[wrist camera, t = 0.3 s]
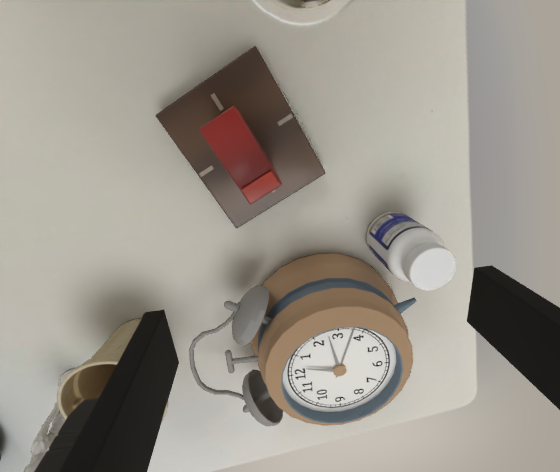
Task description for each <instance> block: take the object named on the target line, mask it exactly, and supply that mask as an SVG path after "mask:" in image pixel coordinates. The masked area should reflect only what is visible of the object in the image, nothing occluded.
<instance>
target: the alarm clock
mask: <svg viewBox="0 0 560 472" xmlns="http://www.w3.org/2000/svg"><path fill="white" fill-rule="evenodd" d="M415 302H416V299H415V298H412V299H409V300H406V301H404V302H401V303H398V302H397V300H396V297H395V295H394V293H393V291H392V289H391V288H390V287H389V285H388V284H387V283H386V282H385V280H384V279H383V278H382V277H381V276H380V275H379V274H378V273H377V272H376V271H375V269H374V268H373V267H371V266H369V265H368V264H366V263H364V262H362V261H361V260H359V259H357V258H353V257H350V256H346V255H342V254H315V255H311V256H306V257H302V258H299V259H297V260H295V261H293V262H291V263H289V264H287V265H285V266H283V267H281V268H280V269H279V270H277V271H276V272H275V273H274V274H273V275H272V276H270V277H269V278H268V279H267V280H266V281H265V283H264V284H263V285H262V286H254V287H253V288H251V289H250V290H249V291H248V292H247V293H246V294H245V295H244V296H243V298H242V299H241V301H240V302H238V304H236V303H233V302H231V301H226V302H225V303H224V306H225V308H227V309H229V310H231V311H234V312H233V314H232V315H231V317H230V318H228V319H227V320H226V321H225V322H224V323H223V324H221V325H220V326H218V327H217V328H215V329H212V330H209V331H205V332H202V333H201V334H200V335H198V336H197V337H196V338H195V339H194V340H193V342H192V344H191V346H190V349H189V352H190V366H191V370H192V373H193V375H194V378H195V380H196V382H197V384H198V385H199V386H200V387H201V388H202V389H204V390H205V391H207V392H210V393H213V394H227V395H231V396H235V397H238V398H241V399H243V400H245V403H246V405H245V406H244V407H243V411H244V412H245V413H247V412H249V411H250V413H251V415H252V416H253V417H254V418H255V419H256V420H257V421H258V422H260V423H261V424H263V425H265V426H273V425H277V424H278V423H280V421H281V419H282V416H283V411H284V412H286V413H287V414H288V415H290V416H291V417H294V418H296V419H299V420H301V421H304V422H306V423H312V424H318V425H341V424H346V423H350V422H354V421H358V420H361V419H363V418H365V417H367V416H370V415H372V414H374V413H376V412H377V411H379V410H380V409H382V408H383V407H385V406H386V405H387V404H389V403H390V402H391V401H392V400H393V399H394V398H395V397H396V396H397V394H398V393H399V392H400V391H401V390H402V388H403V387H404V385H405V383H406V381H407V379H408V378H409V376H410V373H411V368H412V363H413V353H412V345H411V342H410V340H409V338H408V329H407V327H406V325H405V322H404V320H403V318H402V316H401V313H402V312H403V311H405V310H406V309H407V308H408V307H410V306H411V305H412V304H414V303H415ZM232 319H233V323H232V334H233V338H234V340H235V341H236V342H237V343H238V344H239V345H242V346H246V345H248V344H249V343H250V342H251V345H252V348H253V352H254V355H255V356H250V357H243V358H235V359H232V353H231V351H230V350H227V351H226V352H225V355H226V360H227V365H228V370H229V373H233V372H234V364H236V363H244V362H251V361H258V366H259V369H260V371H259V370H252V371H251V372H249V373H248V374H247V375H246V376H245V378H244V381H243V385H242V389H243V395H241V394H239V393H236V392H232V391H229V390H215V389H212V388H209V387H207V386H206V385H205V384H204V383H203V382H201V380H200V378H199V375H198V373H197V370H196V368H195V363H194V350H193V349H194V347H195V345H196V342H198V341H199V340H200V339H201V338H202V337H204V336H205V335H208V334H212V333H215V332H218V331H219V330H221V329H222V328H224V327H225V326H227V325H228V324H229V322H230V321H231V320H232Z"/></svg>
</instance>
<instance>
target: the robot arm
mask: <svg viewBox="0 0 560 472" xmlns="http://www.w3.org/2000/svg"><path fill="white" fill-rule="evenodd" d="M467 322H468V323H469V324H470V325H471V326H472V327H473V328H474V329H475V330H476V331H478V332H479V333H480V334H481V335H482V336H483V337H484V338H485V339H486V340H487V341H488V342H489V343H490V344H491V345H492V346H493V347H494V348H495V349H497V351H498V352H500V353H501V354H502V355H503V356H504V357H505V358H506V359H507V360H508V361H509V362H510V363H511V364H512V365H513V366H514V367H515V368H516V369H518V371H520V372H521V373H522V374H523V375H524V376H525V377H526V378H527V379H528V380H529V381H530V382H531V383H532V384H533V385H534V386H535V387H536V388H537V389H538V390H539V391H540V392H542V393H543V394H544V395H545V396H546V397H547V398H548V399H549V400H550V401H551V402H552V403H553V404H554V405H555V406H556V407H557V408H558V409H559V410H560V308H559V307H557V306H556V305H554V304H553V303H551V302H549V301H548V300H546V299H544V298H543V297H541V296H540V295H538V294H536V293H535V292H533V291H532V290H530V289H529V288H527V287H525V286H524V285H522V284H520V283H519V282H517V281H516V280H514V279H512V278H510V277H509V276H508V275H506V274H504V273H503V272H501V271H500V270H498V269H496V268H495V267H493V266H485V267H478V268H474V275H473V282H472V289H471V296H470V303H469V310H468V318H467ZM178 364H179V361H178V358H177V354H176V351H175V347H174V344H173V340H172V336H171V333H170V329H169V326H168V322H167V319H166V315H165V312H164V310H160V311H152V312H145V313H144V315H143V317H142V319H141V321H140V323H139V325H138V326H137V328H136V330H135V332H134V334H133V336H132V338H131V339H130V341H129V343H128V345H127V347H126V349H125V351H124V352H123V354H122V356H121V358H120V360H119V362H118V363H117V365H116V367H115V369H114V371H113V373H112V375H111V376H110V378H109V380H108V382H107V384H106V386H105V388H104V389H103V391H102V393H101V395H100V397H99V398H93V399H87V400H83V401H82V402H81V403H80V404H79V405H78V406H77V407H76V408H75V409H74V410H73V411H72V412H71V413H70V414H69V415H68V417H67V419H66V420H65V422H64V424H63V425H62V427H61V429H60V430H59V432H58V436H56V437H55V438H54V440H53V442H52V443H51V445H50V447H49V451H47V452H46V453H45V455H44V456H43V458H42V460H41V461H40V463H39V465H38V466H37V468H36V470H35V471H34V472H147V469H148V466H149V463H150V459H151V456H152V452H153V449H154V446H155V442H156V439H157V435H158V432H159V429H160V425H161V422H162V418H163V415H164V411H165V408H166V405H167V401H168V398H169V394H170V391H171V388H172V384H173V381H174V377H175V374H176V371H177V367H178Z"/></svg>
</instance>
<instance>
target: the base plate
mask: <svg viewBox="0 0 560 472" xmlns="http://www.w3.org/2000/svg"><path fill="white" fill-rule="evenodd" d="M232 106H235V107H236V108H238V109H239V110H240V111H241V113H242V114H243V116H244V118H245V119H246V121H247V123H248V124H249V126H250V127H251V129H252V131H253V132H254V134H255V136H256V137H257V139H258V141H259V142H260V144H261V145H262V147H263V149H264V150H265V152H266V154H267V155H268V157H269V158H270V160H271V162H272V163H273V165H274V167H275V169H276V172H277V174H278V176H279V178H280V180H281V182H282V185H281V186H280V187H278V188H277V189H275V190H273V191H272V192H270V193H269V194H267V195H265V196H264V197H262V198H261V199H259V200H257V201H256V202H254V203H253V204H249V203H248V201H247V200H246V198H245V197H244V195H243V194H242V192H241V191H240V189H239V188H238V186H237V185H236V183H235V182H234V180H233V179H232V178H231V176H230V175H229V173H228V172H227V170H226V169H225V167H224V166H223V164H222V163H221V161H220V160H219V158H218V157H217V155H216V154H215V152H214V151H213V149H212V148H211V147H210V145H209V144H208V142H207V141H206V139H205V138H204V136H203V135H202V133H201V132H200V130H199V129H200V128H201V127H203V126H204V125H206V124H207V123H208V122H210V121H211V120H213V119H214V118H216V117H217V116H219V115H220V114H222V113H223V112H225V111H226V110H228V109H229V108H231V107H232ZM156 117H157V118H158V120H159V121H160V123H161V124H162V125H163V127H164V128H165V130H166V131H167V132H168V134H169V135H170V137H171V138H172V139H173V141H174V142H175V144H176V145H177V146H178V148H179V149H180V151H181V152H182V153H183V155H184V156H185V157H186V159H187V160H188V162H189V163H190V164H191V166H192V167H193V169H194V170H195V171H196V173H197V174H198V176H199V177H200V178H201V180H202V181H203V183H204V184H205V185H206V187H207V188H208V190H209V191H210V192H211V194H212V195H213V196H214V198H215V199H216V201H217V202H218V203H219V205H220V206H221V208H222V209H223V210H224V212H225V213H226V215H227V216H228V217H229V219H230V220H231V222H232V223H233V224H234V226H235V227H236V228H238V227H240V226H241V225H243V224H245V223H246V222H248V221H249V220H251V219H253V218H254V217H256V216H257V215H259V214H261V213H262V212H264V211H266V210H267V209H269V208H270V207H272V206H274V205H275V204H277V203H278V202H280V201H282V200H283V199H285V198H287V197H288V196H290V195H291V194H293V193H295V192H296V191H298V190H299V189H301V188H303V187H304V186H306V185H307V184H309V183H311V182H312V181H314V180H316V179H317V178H319V177H320V176H322V175H324V174H325V171H324V169H323V167H322V165H321V163H320V162H319V160H318V158H317V156H316V154H315V153H314V151H313V149H312V147H311V145H310V143H309V142H308V140H307V138H306V136H305V134H304V133H303V131H302V129H301V127H300V125H299V123H298V122H297V120H296V118H295V116H294V114H293V113H292V111H291V109H290V107H289V105H288V104H287V102H286V100H285V98H284V96H283V94H282V93H281V91H280V89H279V87H278V85H277V84H276V82H275V80H274V78H273V76H272V75H271V73H270V71H269V69H268V67H267V65H266V64H265V62H264V60H263V58H262V56H261V55H260V53H259V51H258V49H257V47H256V46H254V47H253V48H251V49H250V50H249V51H247V52H246V53H244V54H243V55H241V56H240V57H239V58H237V59H236V60H234V61H233V62H231V63H230V64H228V65H227V66H226V67H224V68H223V69H221V70H220V71H218V72H217V73H215V74H214V75H213V76H211V77H210V78H208V79H207V80H205V81H204V82H203V83H201V84H200V85H198V86H197V87H195V88H194V89H192V90H191V91H190V92H188V93H187V94H185V95H184V96H182V97H181V98H179V99H178V100H177V101H175V102H174V103H172V104H171V105H169V106H168V107H167V108H165V109H164V110H162V111H161V112H159V113H158V114H156Z"/></svg>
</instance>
